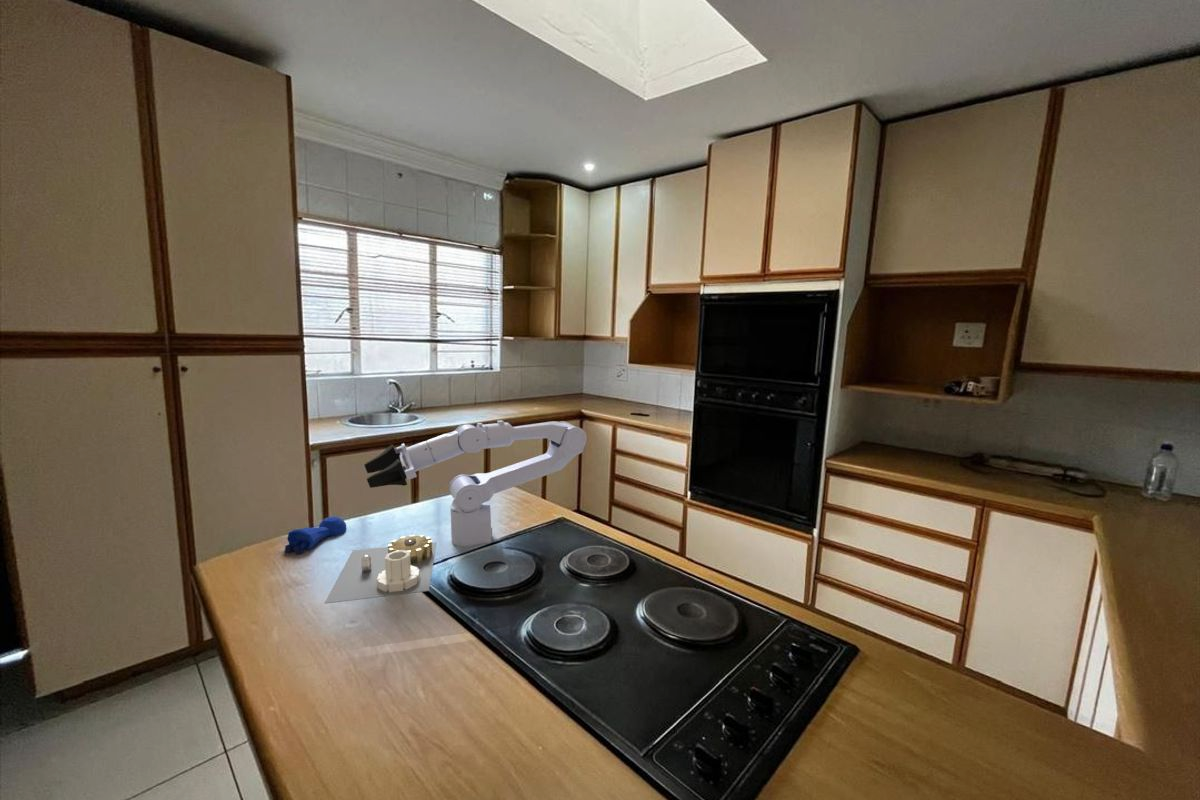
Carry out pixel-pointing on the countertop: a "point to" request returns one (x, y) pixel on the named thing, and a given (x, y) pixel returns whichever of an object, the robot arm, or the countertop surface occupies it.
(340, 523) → the toy
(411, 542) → the sun gear
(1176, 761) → the countertop surface
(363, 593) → the carrier plate
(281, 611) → the countertop surface
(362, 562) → the carrier pin
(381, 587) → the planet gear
